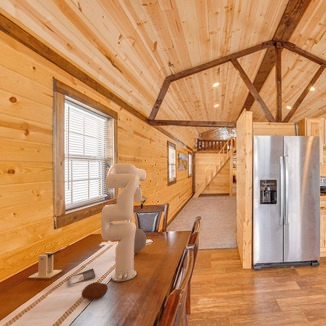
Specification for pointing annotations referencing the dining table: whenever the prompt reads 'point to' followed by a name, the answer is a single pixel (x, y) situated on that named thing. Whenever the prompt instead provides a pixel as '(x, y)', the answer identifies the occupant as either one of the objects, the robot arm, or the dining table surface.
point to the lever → (56, 252)
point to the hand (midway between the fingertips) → (134, 209)
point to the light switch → (86, 275)
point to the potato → (94, 291)
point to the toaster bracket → (45, 267)
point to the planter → (139, 240)
